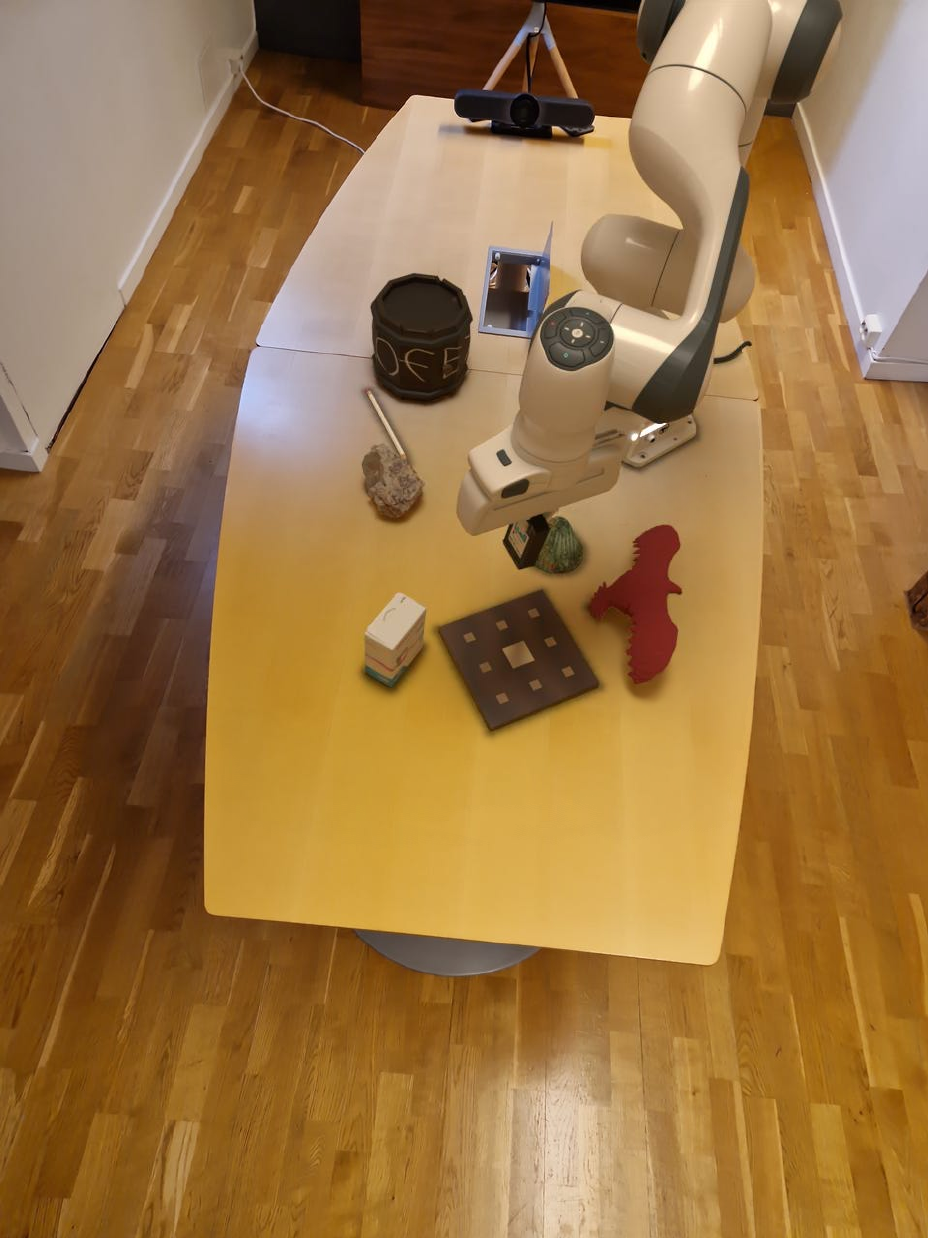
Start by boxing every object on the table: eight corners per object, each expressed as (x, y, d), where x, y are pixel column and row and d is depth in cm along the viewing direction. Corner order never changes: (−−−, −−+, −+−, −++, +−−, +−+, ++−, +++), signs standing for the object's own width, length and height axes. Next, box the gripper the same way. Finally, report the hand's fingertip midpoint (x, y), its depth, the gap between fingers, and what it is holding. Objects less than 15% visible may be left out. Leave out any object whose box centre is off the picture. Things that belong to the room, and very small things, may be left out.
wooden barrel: (401, 421, 146) (401, 351, 133) (355, 358, 153) (352, 286, 140) (486, 389, 152) (495, 319, 138) (438, 330, 159) (442, 258, 146)
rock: (388, 536, 136) (428, 510, 130) (334, 494, 130) (374, 465, 124) (399, 500, 142) (439, 473, 135) (348, 457, 136) (387, 428, 130)
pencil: (369, 390, 149) (369, 387, 149) (409, 463, 141) (409, 460, 140) (365, 391, 149) (365, 389, 149) (404, 464, 141) (404, 461, 140)
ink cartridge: (501, 542, 106) (516, 501, 100) (516, 539, 107) (532, 498, 101) (518, 572, 104) (535, 531, 97) (533, 567, 105) (551, 527, 98)
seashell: (521, 546, 128) (538, 500, 133) (515, 561, 132) (533, 516, 137) (580, 569, 128) (596, 522, 133) (573, 583, 131) (589, 537, 136)
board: (541, 592, 129) (542, 588, 128) (598, 686, 121) (600, 682, 120) (438, 631, 124) (438, 626, 123) (490, 731, 116) (491, 727, 115)
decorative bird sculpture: (605, 704, 125) (694, 684, 115) (569, 678, 119) (658, 654, 110) (616, 556, 139) (696, 527, 130) (584, 527, 134) (664, 494, 124)
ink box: (392, 689, 118) (392, 650, 108) (364, 672, 120) (361, 632, 109) (424, 647, 122) (427, 605, 112) (397, 631, 124) (397, 588, 113)
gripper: (615, 406, 94) (590, 485, 106) (454, 455, 88) (447, 532, 100) (643, 444, 91) (615, 521, 103) (480, 497, 85) (469, 572, 97)
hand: (531, 527), depth 101 cm, fingers closed, pressing on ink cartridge
